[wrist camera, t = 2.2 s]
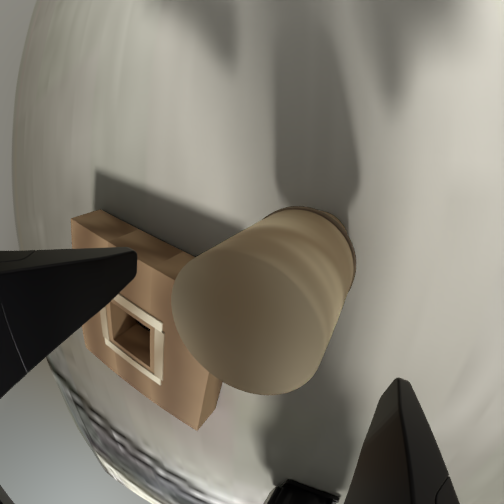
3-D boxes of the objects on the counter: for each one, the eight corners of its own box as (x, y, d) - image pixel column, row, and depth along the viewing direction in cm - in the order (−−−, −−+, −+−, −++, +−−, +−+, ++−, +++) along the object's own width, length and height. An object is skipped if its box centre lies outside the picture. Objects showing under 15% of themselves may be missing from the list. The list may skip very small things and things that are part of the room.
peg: (376, 216, 13) (356, 298, 6) (343, 296, 15) (290, 417, 8) (288, 182, 15) (178, 221, 7) (265, 263, 17) (166, 348, 10)
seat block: (248, 282, 18) (222, 307, 15) (215, 408, 24) (196, 431, 21) (100, 209, 22) (69, 218, 19) (106, 333, 28) (85, 347, 25)
